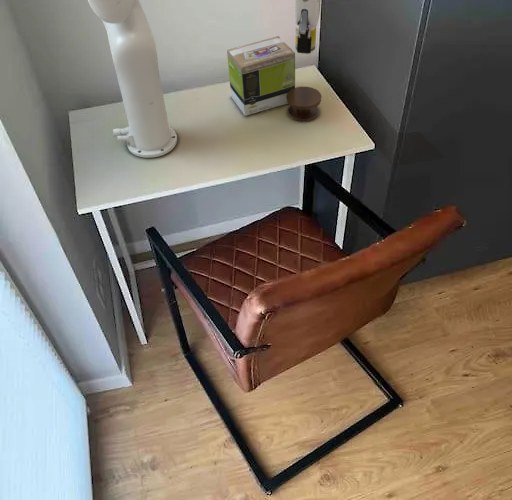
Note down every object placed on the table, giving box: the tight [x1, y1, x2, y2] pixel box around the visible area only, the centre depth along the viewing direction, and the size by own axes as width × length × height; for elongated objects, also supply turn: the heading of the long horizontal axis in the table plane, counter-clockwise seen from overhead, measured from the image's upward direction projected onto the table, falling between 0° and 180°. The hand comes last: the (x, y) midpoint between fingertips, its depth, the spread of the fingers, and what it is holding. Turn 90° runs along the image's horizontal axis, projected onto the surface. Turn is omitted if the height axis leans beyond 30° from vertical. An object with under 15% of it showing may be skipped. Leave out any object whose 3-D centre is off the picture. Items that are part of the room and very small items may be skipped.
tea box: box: [226, 35, 296, 117], centre depth 151 cm, size 15×10×15 cm
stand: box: [286, 85, 322, 123], centre depth 151 cm, size 9×9×5 cm
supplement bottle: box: [294, 22, 317, 55], centre depth 136 cm, size 5×5×8 cm
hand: (305, 45), depth 138 cm, fingers closed on supplement bottle, 4 cm apart
